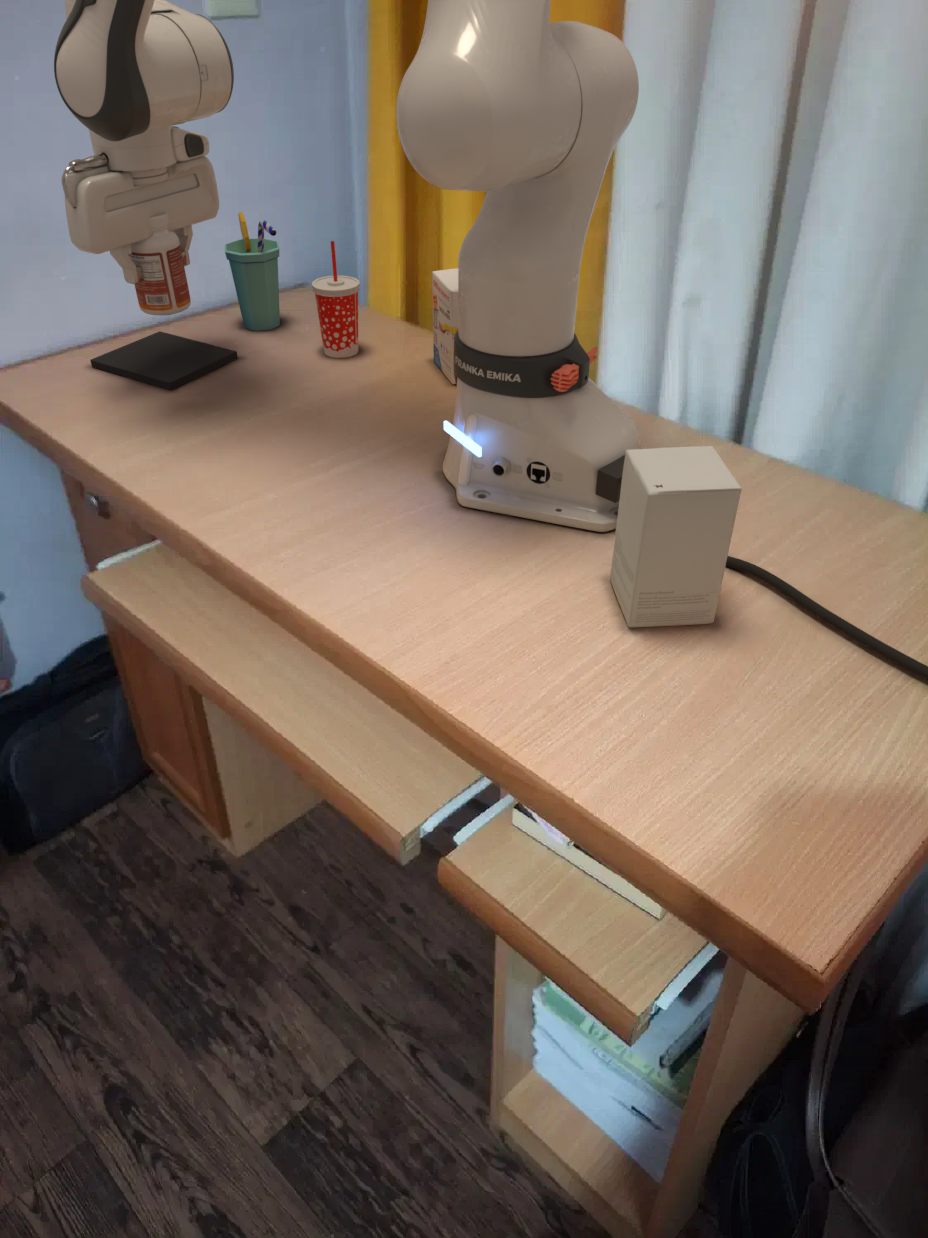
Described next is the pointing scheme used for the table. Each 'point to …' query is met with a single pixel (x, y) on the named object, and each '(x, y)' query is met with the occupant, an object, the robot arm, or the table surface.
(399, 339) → the table surface
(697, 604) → the white packaging box
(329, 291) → the beverage cup
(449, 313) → the ink box
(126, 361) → the mat
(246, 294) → the cup
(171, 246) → the pill bottle
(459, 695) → the table surface
